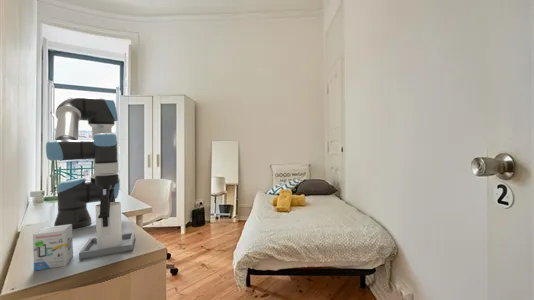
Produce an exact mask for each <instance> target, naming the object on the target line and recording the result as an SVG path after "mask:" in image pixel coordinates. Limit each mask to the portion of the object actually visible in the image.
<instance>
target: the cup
mask: <svg viewBox="0 0 534 300" xmlns="http://www.w3.org/2000/svg"><path fill="white" fill-rule="evenodd" d="M99 215H100V203H98V204H96V205H95V226H96V227H95V228H96V229H95V230H96V238H97V249H101V248H108V247H114V246H120V245H122V234H123V229H122V227H123V226H122V202H120V201H115V202H110V212H109V215H110V227H111V235H107V236H102V232H101V218H98V216H99Z"/></svg>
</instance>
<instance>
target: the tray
mask: <svg viewBox="0 0 534 300" xmlns="http://www.w3.org/2000/svg"><path fill="white" fill-rule="evenodd" d="M135 239H136V232H135V231H132V232H126V233H122V245H120V246H114V247H108V248H101V249H97V237H92V238H91V237H90V238H89V239H88V240H87V241H86V243H85V244H84V245H83V247H82V248H81V250H79V252H78V260H79V261H83V260H88V259H93V258H99V256H100V257H105V256H110V255H116V254H122V253H123V254H125V253H128V252H133V249H134V244H135Z"/></svg>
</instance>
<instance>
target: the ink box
mask: <svg viewBox="0 0 534 300" xmlns="http://www.w3.org/2000/svg"><path fill="white" fill-rule="evenodd" d="M32 241H33V242H32V245H33V247H32V249H33V271H42V270H47V269H53V268H58V267H60V268H61V267H65V266H68V264H69V263H70V262H71V260H72V258H73V257H74V249H73V248H74V247H73V245H74V244H73V229H72V224H69V225H61V226H54V225H53V226H47V227H45V226H44V227H42V228H40V229H39V230H38V231H36V232H34V234H32Z"/></svg>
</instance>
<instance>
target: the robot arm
mask: <svg viewBox="0 0 534 300" xmlns="http://www.w3.org/2000/svg"><path fill="white" fill-rule="evenodd" d="M55 118H56V119H57V122H56V129H55V136H54V139H53V140H47V142H46V144H45V154H46V158H47V160H49V161H59V162H60V161H74V160H93V161H92V162H93V163H92V164H93V166H92V169H93V174H92V175H91V176H90V179H89V180H87V179H86V177H81V178H73V179H68V180H65V181H61V182H59V183H58V184H57V186H56V187H57V188H56V189H57V191H56V195H57V215H56V218H55V221H54V222H53V223H54V224H53V226H61V225H69V224H72V230H73V229H79V228H84V227H86V226H88V225H91V224H92V217H91V214H90V213H89V211H88V206H87V205H88V204H89V203H90V204H91V203H98V202H99V204H100V215H99V216H98V218H101V232H102V236H107V235H111V227H110V215H109V212H110V202H116V199H117V198H119V197H118V196H119V193H120V177H119V174H118V173H119V161H118V140H117V135H116V134H115V133H112V128H113V127H114V126H115V123H116V122H117V121H118V120H119V119H118V118H119V117H118V111H117V105H116V103H115V101H114V99H112V98H107V97H105V98H104V97H89V96H88V97H87V96H73V97H69V98H67V99H66V100H63V101H62V102H61V103H60V104H58V106H57V107H56V109H55ZM80 121H87V124H88V125H89V126H90V127H91V133H92V135H91V136H92V139H91V140H88V139H87V140H81V139H79V126H80V125H79V123H80Z"/></svg>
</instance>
